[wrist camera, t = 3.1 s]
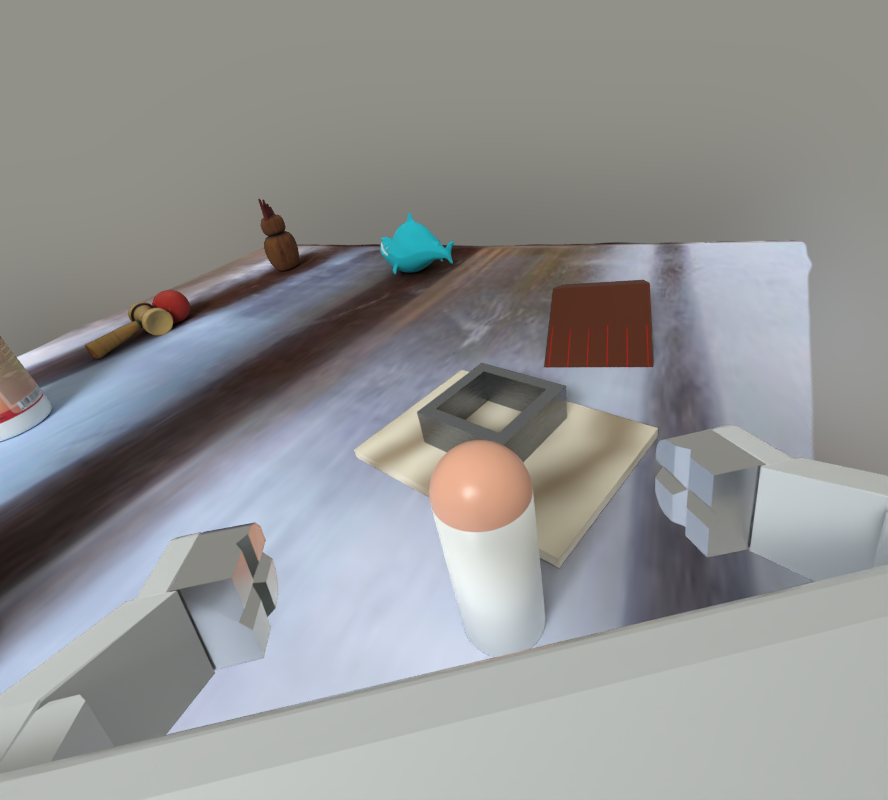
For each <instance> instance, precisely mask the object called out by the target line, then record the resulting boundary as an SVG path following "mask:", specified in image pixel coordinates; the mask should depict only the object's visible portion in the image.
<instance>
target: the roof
mask: <svg viewBox="0 0 888 800" xmlns="http://www.w3.org/2000/svg"><path fill="white" fill-rule="evenodd" d="M544 367H653V347H652V324H651V301H650V283H649V282H647V281H645V280H633V281H616V282H600V283H583V284H566V285H561V286H558V287H556V288H553V294H552V303H551V312H550V321H549V330H548V339H547V347H546V356H545V365H544Z"/></svg>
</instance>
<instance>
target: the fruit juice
mask: <svg viewBox="0 0 888 800" xmlns="http://www.w3.org/2000/svg"><path fill="white" fill-rule="evenodd" d="M51 410H52V407H51V404H50V402H49V400H48V398H47V397H46V396H45V394H44V393H43V392H42V390H41V389H40V388H39V387H38V385H37V384H36V383H35V381H34V380H33V379H32V377H31V376H30V375H29V373H28V372H27V371H26V369H25V368H24V367H23V365H22V364H21V363H20V361H19V360H18V359H17V357H16V356H15V355H14V354H13V352H12V351H11V350H10V348H9V347H8V346H7V344H6V343H5V342H4V340H3V339H2V338H1V336H0V442H1V441H4V440H7V439H9V438H12V437H14V436H17V435H19V434H21V433H23V432H25V431H27V430H29V429H30V428H32V427H34V426H35V425H37V424H38V423H40V422H41V421H42V420H44V419H45V418H46V417H47V416H48V415H49V413H50V412H51Z"/></svg>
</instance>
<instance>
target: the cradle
mask: <svg viewBox="0 0 888 800" xmlns="http://www.w3.org/2000/svg"><path fill="white" fill-rule="evenodd" d="M487 401H490V402H493V403H496V404H499V405H502V406H505V407H508V408H511V409H514V410H517V411H520V412H521V413H520V414H519V415H518V416H517V417H516V418H515V419H514V420H512V421H511V422H510V423H509V424H508V425H507V426H506V427H505V428H504V429H503V430H502V431H500V432H499V433H498V432H495V431H493V430H490V429H488V428H485V427H482V426H480V425H477V424H474V423H472V422H469V421H467V420H466V419H467V418H468V417H470V416H471V415H472V414H473V413H474V412H476V411H477V410H478V409H479V408H480V407H482V406H483V405H484V404H485V403H486V402H487ZM417 415H418V419H419V423H420V427H421V431H422V434H423V438H424V442H425V443H427V444H429V445H431V446H434V447H436V448H438V449H440V450H443V451H445V452H448V451H449V450H451V449H452V448H454V447H455V446H457V445H459V444H462V443H464V442H468V441H473V440H487V441H493V442H496V443H499V444H501V445H503V446H506V447H507V448H509V449H510V450H512V451H513V452H514V453H515V454H516V455H517V456H518V457H519V458H520V459H521V460H522V461H523V462H524V461H525V460H526V459H527V458H528V457H529V456H530V455H531V454H532V453H533V452H534V451H535V450H536V449H537V448H538V447H539V446H540V445H541V444H542V443H543V442H544V441H545V440H546V439H547V438H548V437H549V436H550V435H551V434H552V433H553V432H554V431H555V430H556V429H557V428H558V427H559V426H560V425H561V424H562V423H563V422H564V421H565V419H566V418H567V405H566V386H564V385H561V384H557V383H553V382H550V381H546V380H542V379H539V378H535V377H531V376H528V375H524V374H521V373H517V372H513V371H510V370H506V369H502V368H499V367H495V366H492V365H488V364H484V363H481V364H480V365H478V366H477V367H476V368H474V369H473V370H472V371H470V372H469V373H468V374H466V375H465V376H464V377H462V378H461V379H460V380H458V381H457V382H456V383H454V384H453V385H452V386H451V387H449V388H448V389H447V390H445V391H444V392H443V393H441V394H440V395H439V396H437V397H436V398H435V399H433V400H432V401H431V402H429V403H428V404H427V405H425V406H424V407H423V408H421V409H420V410H419V411H417Z"/></svg>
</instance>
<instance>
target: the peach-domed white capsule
mask: <svg viewBox="0 0 888 800" xmlns="http://www.w3.org/2000/svg"><path fill="white" fill-rule="evenodd" d="M429 497H430V503H431V508H432V511H433V515H434V519H435V522H436V526H437V530H438V534H439V537H440V541H441V545H442V549H443V552H444V556H445V560H446V564H447V567H448V571H449V575H450V579H451V582H452V586H453V590H454V594H455V597H456V601H457V605H458V609H459V612H460V616H461V620H462V623H463V627H464V631H465V633H466V635H467V638H468V639H469V641H470V642H471V643H472V644H473V645H474V646H475V647H476V648H477V649H478V650H480V651H481V652H483V653H485V654H487V655H489V656H492V657H499V656H503V655H507V654H511V653H515V652H520V651H524V650H528V649H531V648H532V647H533V646H535V645H536V643H537V642H538V641H539V639H540V638H541V636H542V634H543V631H544V628H545V622H546V616H545V606H544V596H543V586H542V576H541V566H540V556H539V546H538V536H537V526H536V516H535V506H534V496H533V487H532V482H531V477H530V475H529V472H528V470H527V468H526V466H525V465H524V463H523V461H522V460H521V459H520V458H519V457H518V456H517V455H516V454H515V453H514V452H513V451H512V450H510V449H509V448H507V447H506V446H503V445H501V444H499V443H496V442H493V441H487V440H473V441H468V442H464V443H462V444H459V445H457V446H455V447H454V448H452V449H451V450H449V451H448V452H447V453H446V454H445V455H444V456H443V457H442V458H441V459H440V460H439V462H438V464H437V465H436V467H435V469H434V471H433V474H432V476H431V481H430V487H429Z"/></svg>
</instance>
